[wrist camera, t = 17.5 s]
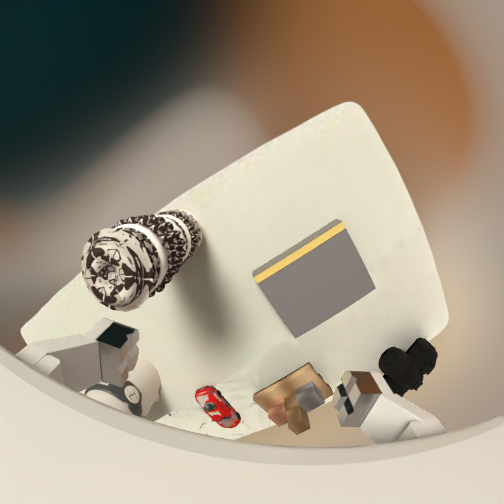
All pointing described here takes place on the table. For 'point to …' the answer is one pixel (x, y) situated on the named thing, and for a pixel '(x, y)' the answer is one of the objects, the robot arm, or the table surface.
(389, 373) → the film camera
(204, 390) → the race car
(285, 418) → the terracotta crate
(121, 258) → the decorative candle
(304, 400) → the gray cube
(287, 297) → the plate
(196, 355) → the table surface
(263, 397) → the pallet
